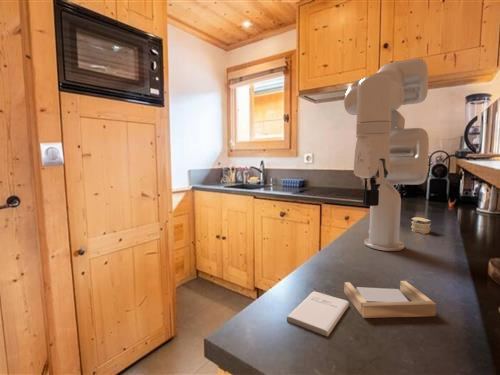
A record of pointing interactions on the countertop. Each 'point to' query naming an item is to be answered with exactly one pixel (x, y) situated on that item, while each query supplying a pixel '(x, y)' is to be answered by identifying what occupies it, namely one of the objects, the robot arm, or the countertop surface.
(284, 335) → the countertop surface
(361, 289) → the light grey slab
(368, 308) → the pine rack
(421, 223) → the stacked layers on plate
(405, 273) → the countertop surface
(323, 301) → the external hard drive
